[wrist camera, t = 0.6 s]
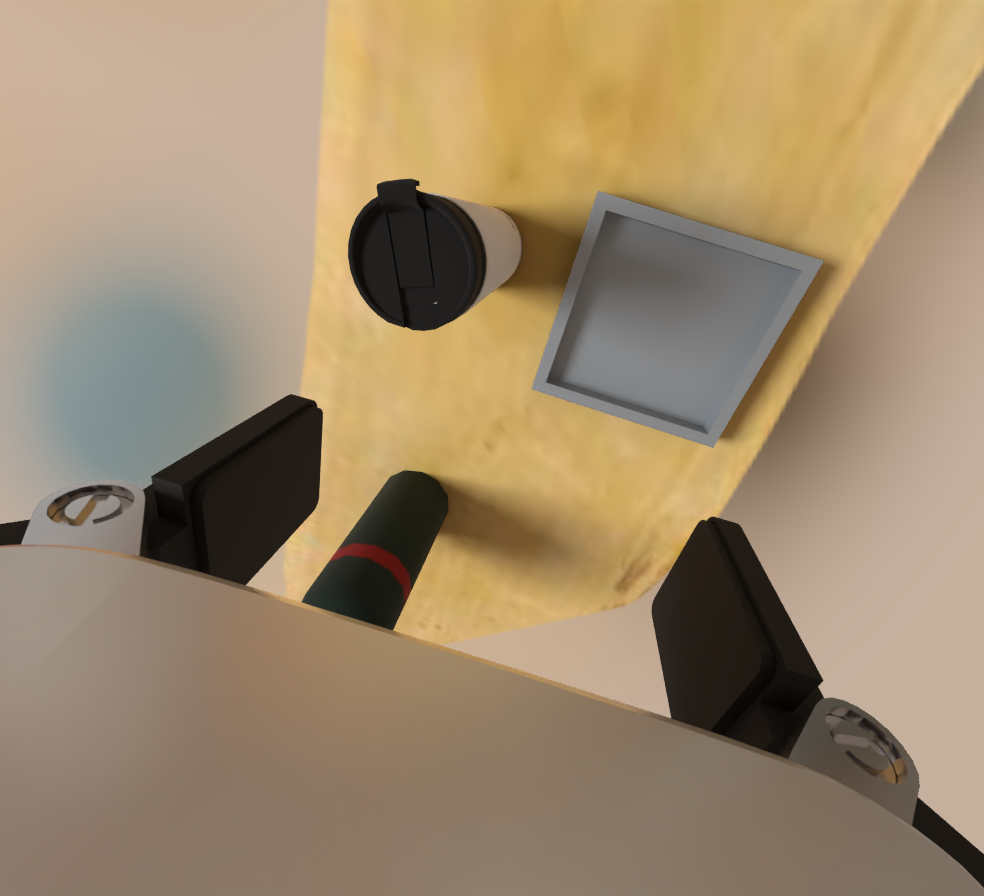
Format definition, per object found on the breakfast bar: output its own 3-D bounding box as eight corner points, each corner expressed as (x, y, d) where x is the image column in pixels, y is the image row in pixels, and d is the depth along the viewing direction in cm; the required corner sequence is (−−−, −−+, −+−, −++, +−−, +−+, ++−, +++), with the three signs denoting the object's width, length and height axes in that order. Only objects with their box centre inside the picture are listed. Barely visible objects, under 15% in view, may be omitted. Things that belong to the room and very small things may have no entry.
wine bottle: (375, 530, 54) (181, 824, 27) (388, 461, 49) (167, 737, 22) (437, 550, 54) (301, 867, 27) (456, 483, 49) (313, 788, 22)
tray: (596, 193, 34) (598, 191, 32) (807, 258, 34) (823, 260, 32) (533, 380, 42) (531, 389, 40) (705, 435, 42) (713, 447, 39)
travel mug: (521, 198, 35) (467, 170, 18) (523, 285, 38) (479, 335, 21) (446, 204, 37) (325, 184, 19) (454, 288, 39) (356, 339, 22)
